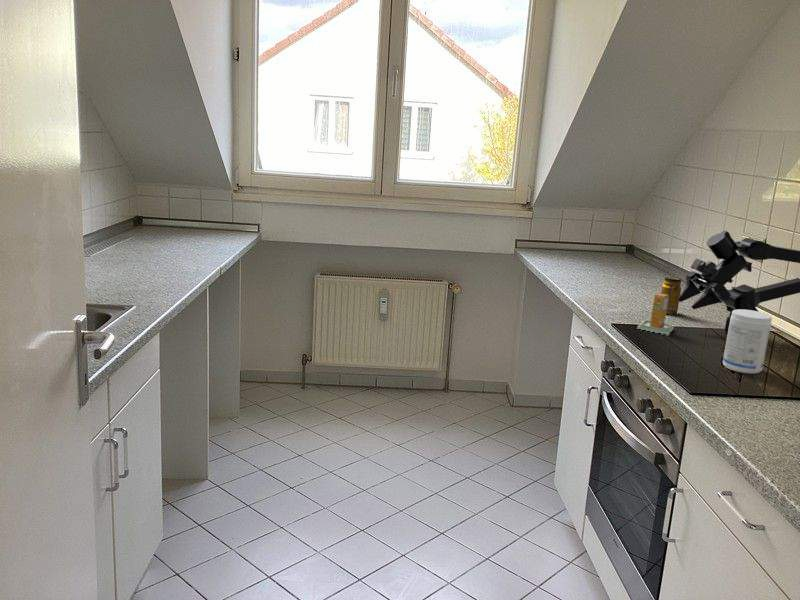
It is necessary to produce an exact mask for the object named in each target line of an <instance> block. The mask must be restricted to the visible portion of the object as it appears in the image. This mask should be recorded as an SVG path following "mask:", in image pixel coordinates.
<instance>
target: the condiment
mask: <svg viewBox="0 0 800 600" xmlns="http://www.w3.org/2000/svg"><path fill="white" fill-rule="evenodd" d="M681 285H682V279H681V278H679V277H675V276H665V277H664V281H663V284H662V286H661V290H660V291H661V294H665V295H669V298H668V303H667V310H666V314H669V315H668V316H680V317H681V316H687V315H686V314H684V313H682V312H680V311H679V304H680V302H679V301H678V298H679V297H680V295H681V293H682V287H681ZM677 311H679V312H678V314H677ZM676 314H677V315H676Z"/></svg>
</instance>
